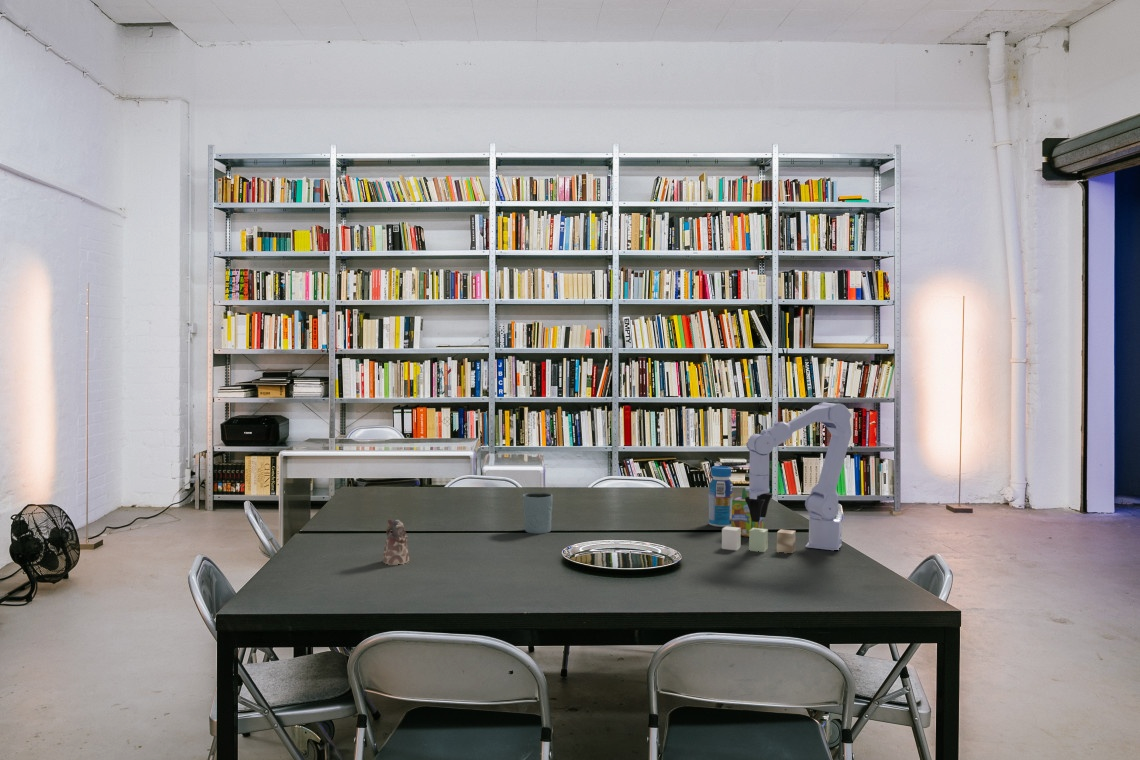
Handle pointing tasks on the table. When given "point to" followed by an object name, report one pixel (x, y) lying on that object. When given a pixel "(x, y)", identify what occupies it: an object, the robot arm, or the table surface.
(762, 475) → the robot arm
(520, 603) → the table surface
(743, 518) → the chalk box
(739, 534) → the off-white block
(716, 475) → the beverage bottle
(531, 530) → the blue-gray cup
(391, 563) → the figurine
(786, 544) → the birch block
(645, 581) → the table surface
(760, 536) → the sage green block
